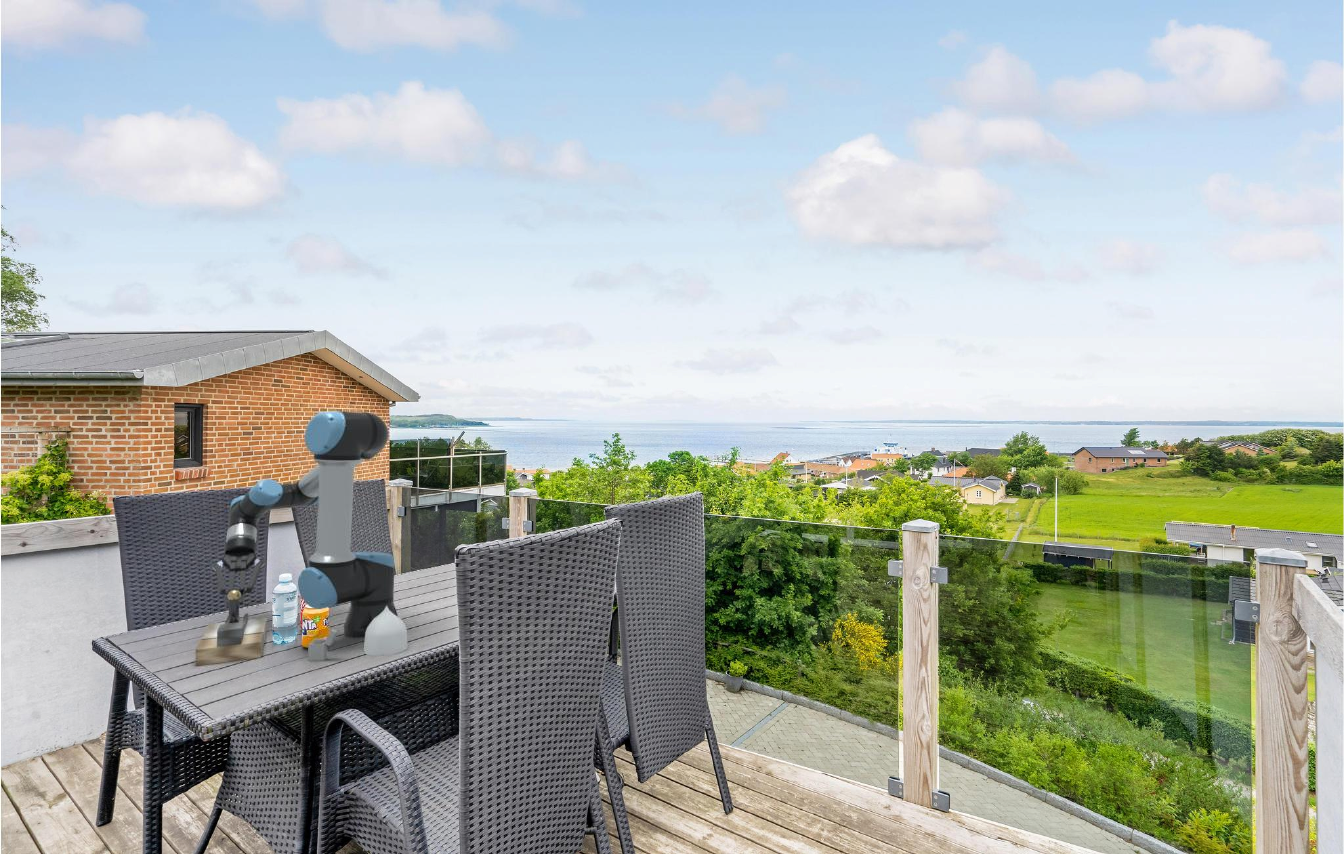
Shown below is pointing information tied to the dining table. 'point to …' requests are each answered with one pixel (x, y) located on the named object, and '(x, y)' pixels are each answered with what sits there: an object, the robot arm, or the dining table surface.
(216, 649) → the door and jamb
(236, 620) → the bolt
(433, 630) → the dining table surface
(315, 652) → the lighter
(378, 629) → the teardrop
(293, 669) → the dining table surface
